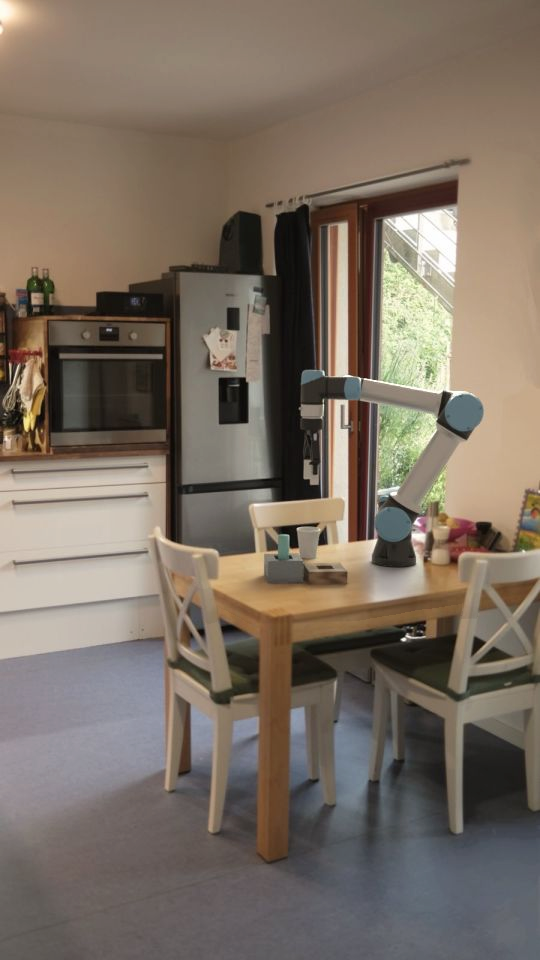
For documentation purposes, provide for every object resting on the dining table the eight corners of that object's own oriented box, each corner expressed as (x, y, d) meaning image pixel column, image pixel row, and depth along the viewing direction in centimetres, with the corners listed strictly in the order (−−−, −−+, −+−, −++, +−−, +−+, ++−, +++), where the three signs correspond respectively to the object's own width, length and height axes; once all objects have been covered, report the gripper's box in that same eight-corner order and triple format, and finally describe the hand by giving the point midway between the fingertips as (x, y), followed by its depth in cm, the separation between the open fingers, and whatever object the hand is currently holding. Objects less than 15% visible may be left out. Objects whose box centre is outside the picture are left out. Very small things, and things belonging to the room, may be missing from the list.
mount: (339, 574, 315) (340, 562, 315) (347, 583, 304) (347, 571, 303) (303, 575, 314) (303, 563, 313) (309, 584, 302) (309, 571, 302)
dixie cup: (316, 560, 337) (316, 531, 335) (293, 558, 339) (293, 530, 338) (322, 555, 345) (323, 527, 343) (299, 553, 347) (300, 526, 346)
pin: (287, 577, 311) (288, 534, 309) (289, 580, 308) (290, 536, 306) (277, 577, 311) (277, 534, 309) (278, 580, 307) (278, 536, 305)
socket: (297, 574, 315) (298, 553, 314) (303, 582, 304) (303, 560, 303) (263, 575, 314) (264, 553, 313) (267, 583, 303) (268, 561, 302)
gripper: (295, 414, 331) (294, 476, 334) (306, 420, 307) (305, 487, 310) (317, 414, 332) (315, 476, 335) (330, 420, 308) (328, 487, 311)
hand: (310, 481), depth 322 cm, fingers open, 13 cm apart
